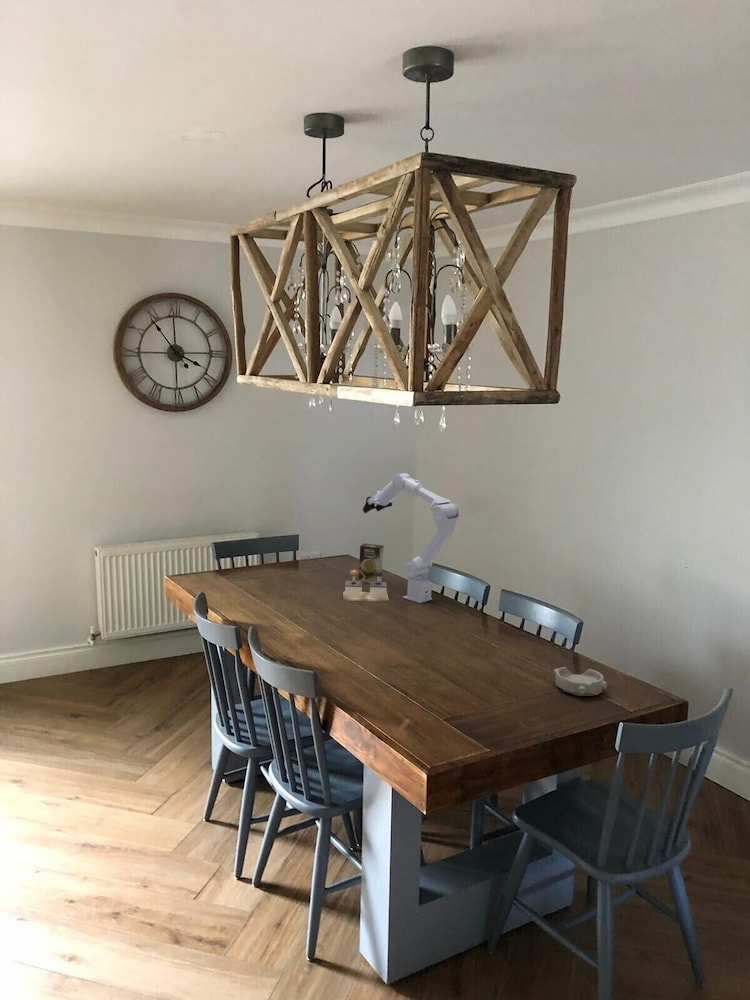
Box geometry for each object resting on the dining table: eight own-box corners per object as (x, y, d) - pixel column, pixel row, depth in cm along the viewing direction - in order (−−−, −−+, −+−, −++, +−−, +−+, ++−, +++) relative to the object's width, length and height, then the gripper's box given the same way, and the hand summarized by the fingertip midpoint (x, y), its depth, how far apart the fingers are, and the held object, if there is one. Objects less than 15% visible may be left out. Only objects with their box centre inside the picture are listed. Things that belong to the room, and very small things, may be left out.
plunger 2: (382, 585, 329) (382, 570, 328) (382, 587, 326) (383, 572, 325) (374, 585, 329) (374, 570, 328) (374, 587, 326) (375, 572, 325)
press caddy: (385, 593, 332) (386, 581, 331) (386, 598, 325) (387, 586, 324) (345, 592, 331) (345, 580, 330) (345, 597, 324) (345, 585, 323)
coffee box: (358, 582, 351) (359, 545, 348) (362, 578, 357) (363, 542, 354) (378, 584, 348) (379, 547, 346) (382, 580, 354) (383, 544, 352)
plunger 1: (357, 584, 329) (358, 569, 328) (357, 586, 326) (358, 571, 324) (349, 584, 328) (350, 569, 327) (349, 586, 325) (350, 571, 324)
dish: (547, 682, 247) (548, 666, 246) (588, 679, 250) (590, 664, 249) (569, 701, 233) (570, 685, 232) (612, 698, 236) (614, 682, 235)
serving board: (386, 594, 334) (387, 592, 333) (388, 601, 324) (388, 599, 324) (343, 593, 333) (343, 591, 332) (343, 600, 323) (343, 598, 323)
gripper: (396, 483, 341) (378, 500, 349) (372, 486, 330) (354, 503, 339) (404, 497, 338) (385, 514, 347) (380, 500, 328) (361, 518, 337)
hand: (370, 510), depth 343 cm, fingers open, 7 cm apart
